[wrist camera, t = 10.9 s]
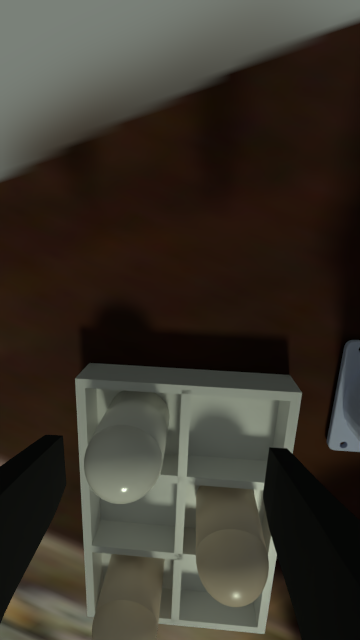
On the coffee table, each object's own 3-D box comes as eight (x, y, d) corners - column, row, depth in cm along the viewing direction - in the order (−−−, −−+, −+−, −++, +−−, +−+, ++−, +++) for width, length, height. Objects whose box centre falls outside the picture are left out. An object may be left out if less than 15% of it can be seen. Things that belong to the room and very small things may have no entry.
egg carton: (289, 375, 20) (335, 440, 14) (258, 596, 26) (279, 724, 19) (89, 362, 21) (37, 419, 14) (97, 581, 26) (62, 700, 19)
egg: (170, 389, 21) (159, 454, 14) (168, 444, 22) (157, 527, 15) (107, 385, 21) (68, 448, 15) (109, 440, 22) (73, 521, 16)
